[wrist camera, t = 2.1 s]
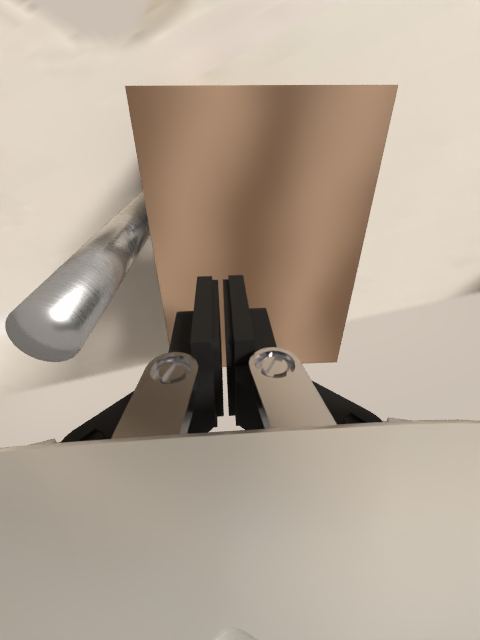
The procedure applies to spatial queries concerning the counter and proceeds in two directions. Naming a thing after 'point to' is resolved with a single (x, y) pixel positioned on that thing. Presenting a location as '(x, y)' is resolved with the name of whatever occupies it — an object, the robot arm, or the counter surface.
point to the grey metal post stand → (79, 289)
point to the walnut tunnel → (262, 197)
